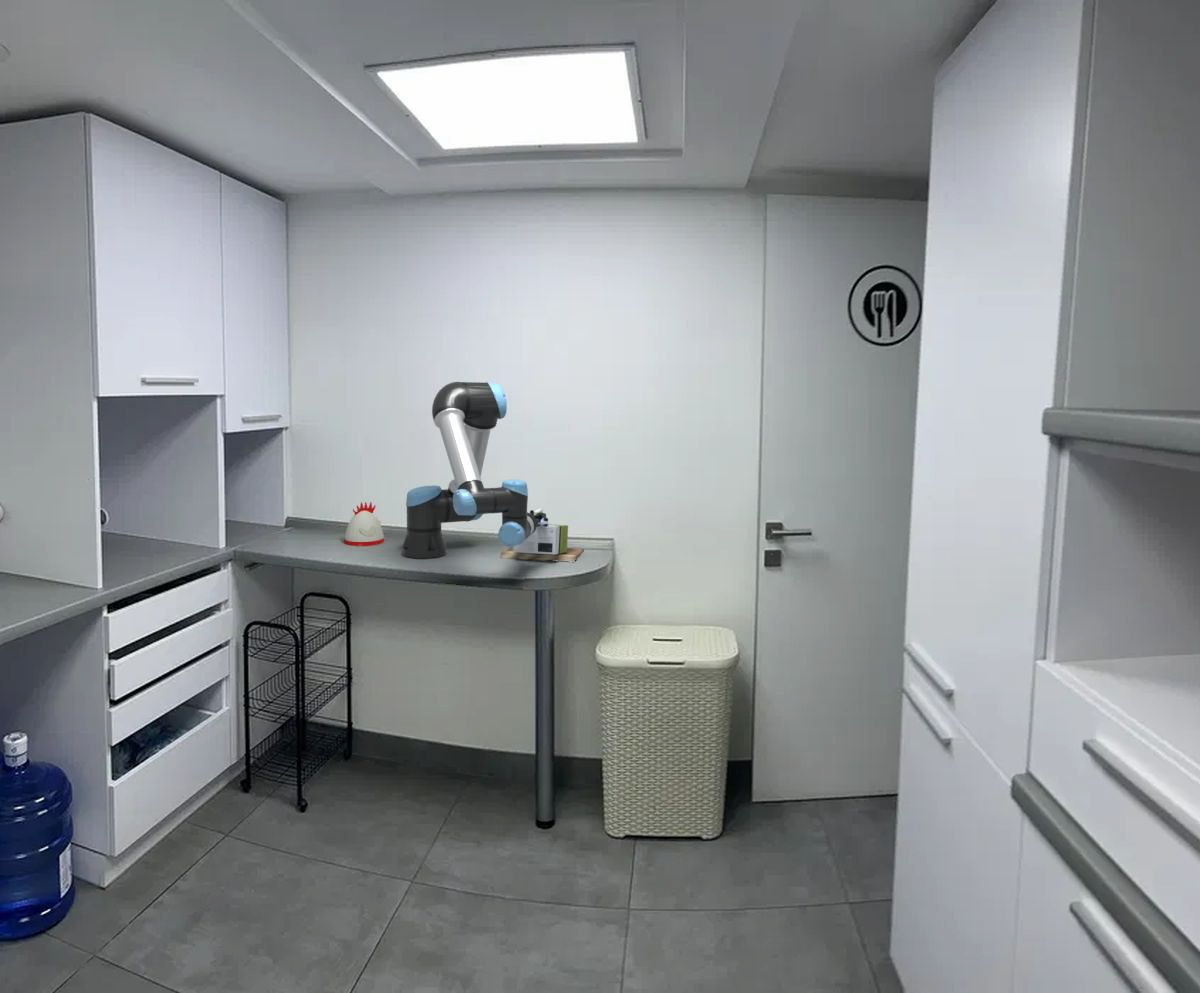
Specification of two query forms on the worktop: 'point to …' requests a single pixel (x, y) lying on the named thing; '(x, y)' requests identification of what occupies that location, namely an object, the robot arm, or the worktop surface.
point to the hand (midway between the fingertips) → (540, 512)
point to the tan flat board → (544, 555)
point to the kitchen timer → (364, 528)
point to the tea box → (545, 540)
